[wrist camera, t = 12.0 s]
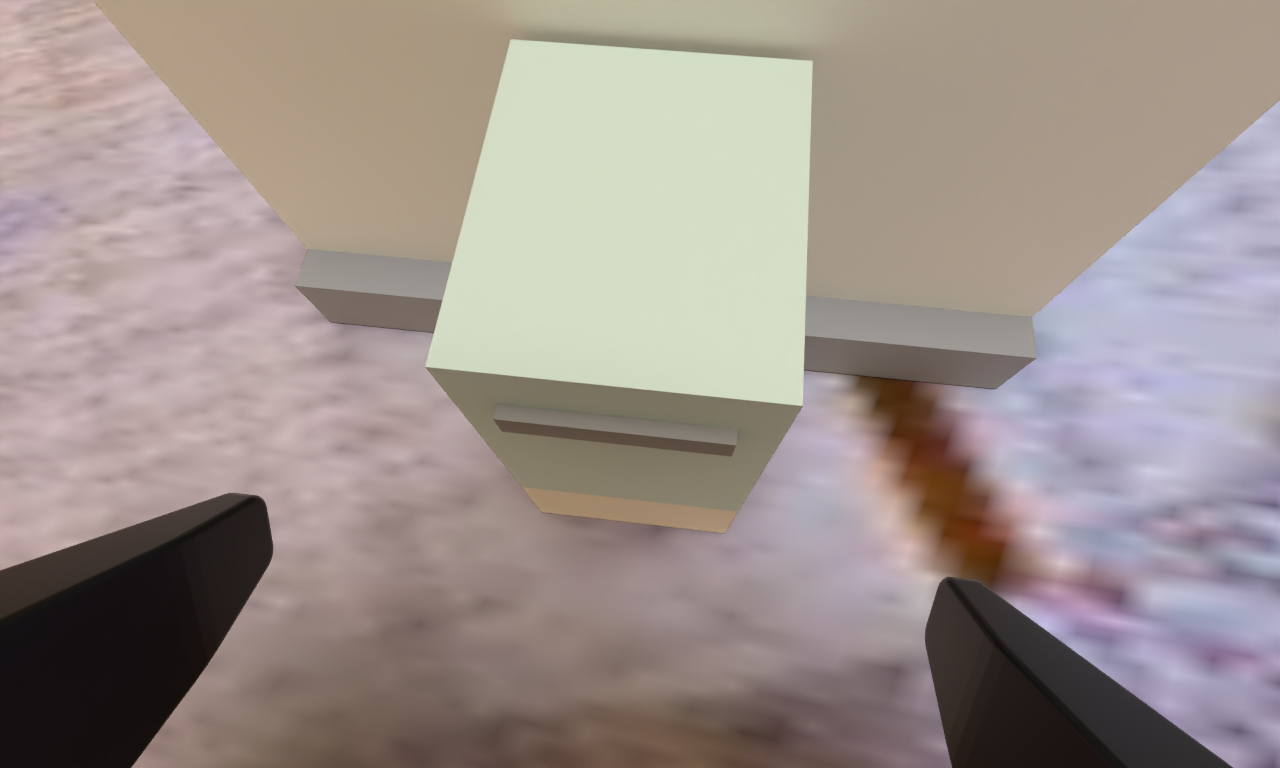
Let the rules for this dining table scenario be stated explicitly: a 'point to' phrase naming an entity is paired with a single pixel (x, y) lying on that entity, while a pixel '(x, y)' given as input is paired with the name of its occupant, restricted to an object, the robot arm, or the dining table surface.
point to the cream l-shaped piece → (839, 144)
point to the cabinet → (634, 279)
